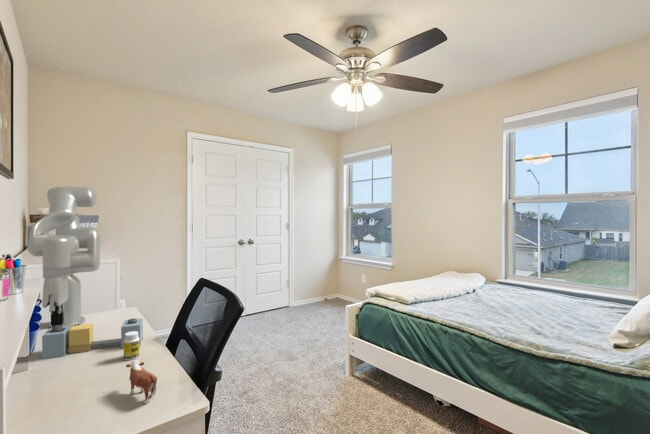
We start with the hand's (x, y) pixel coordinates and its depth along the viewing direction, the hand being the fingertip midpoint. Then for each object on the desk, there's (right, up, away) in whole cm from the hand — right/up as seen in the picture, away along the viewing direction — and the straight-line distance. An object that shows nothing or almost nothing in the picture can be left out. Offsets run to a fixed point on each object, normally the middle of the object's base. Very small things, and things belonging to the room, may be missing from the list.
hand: (57, 324), depth 116 cm
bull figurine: (+43, -12, -25) cm, 51 cm away
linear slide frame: (+10, -10, +5) cm, 15 cm away
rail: (+10, -10, +5) cm, 15 cm away
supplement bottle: (+27, -11, -2) cm, 29 cm away
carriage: (+6, -10, +3) cm, 12 cm away
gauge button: (0, -4, 0) cm, 4 cm away
